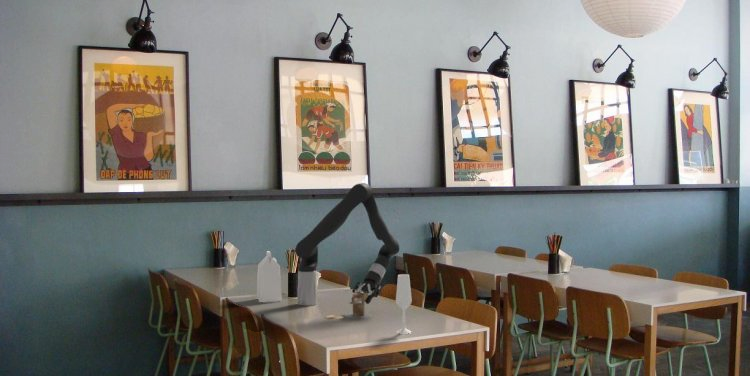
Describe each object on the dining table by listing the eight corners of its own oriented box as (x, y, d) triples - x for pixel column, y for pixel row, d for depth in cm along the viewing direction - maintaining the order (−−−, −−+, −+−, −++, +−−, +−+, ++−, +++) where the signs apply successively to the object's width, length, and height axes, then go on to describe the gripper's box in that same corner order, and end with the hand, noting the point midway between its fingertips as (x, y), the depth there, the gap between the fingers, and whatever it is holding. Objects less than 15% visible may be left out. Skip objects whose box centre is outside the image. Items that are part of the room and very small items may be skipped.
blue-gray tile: (344, 318, 336) (344, 317, 336) (347, 313, 348) (347, 312, 348) (370, 318, 335) (370, 317, 335) (372, 313, 347) (372, 312, 347)
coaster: (322, 319, 333) (322, 318, 333) (325, 316, 342) (325, 315, 342) (342, 320, 332) (342, 319, 332) (344, 316, 341) (344, 315, 341)
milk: (256, 299, 392) (256, 250, 392) (277, 297, 396) (277, 250, 395) (259, 302, 381) (259, 253, 381) (281, 301, 384) (281, 252, 384)
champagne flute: (411, 330, 308) (410, 273, 308) (412, 333, 301) (412, 276, 301) (395, 330, 308) (395, 274, 308) (396, 334, 301) (396, 276, 301)
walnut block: (352, 316, 339) (352, 294, 339) (354, 314, 344) (354, 292, 344) (363, 316, 339) (363, 294, 339) (364, 314, 344) (364, 293, 344)
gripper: (360, 269, 353) (344, 295, 344) (383, 271, 344) (367, 298, 335) (367, 278, 357) (352, 305, 349) (390, 281, 348) (374, 308, 339)
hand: (359, 302), depth 342 cm, fingers open, 8 cm apart
